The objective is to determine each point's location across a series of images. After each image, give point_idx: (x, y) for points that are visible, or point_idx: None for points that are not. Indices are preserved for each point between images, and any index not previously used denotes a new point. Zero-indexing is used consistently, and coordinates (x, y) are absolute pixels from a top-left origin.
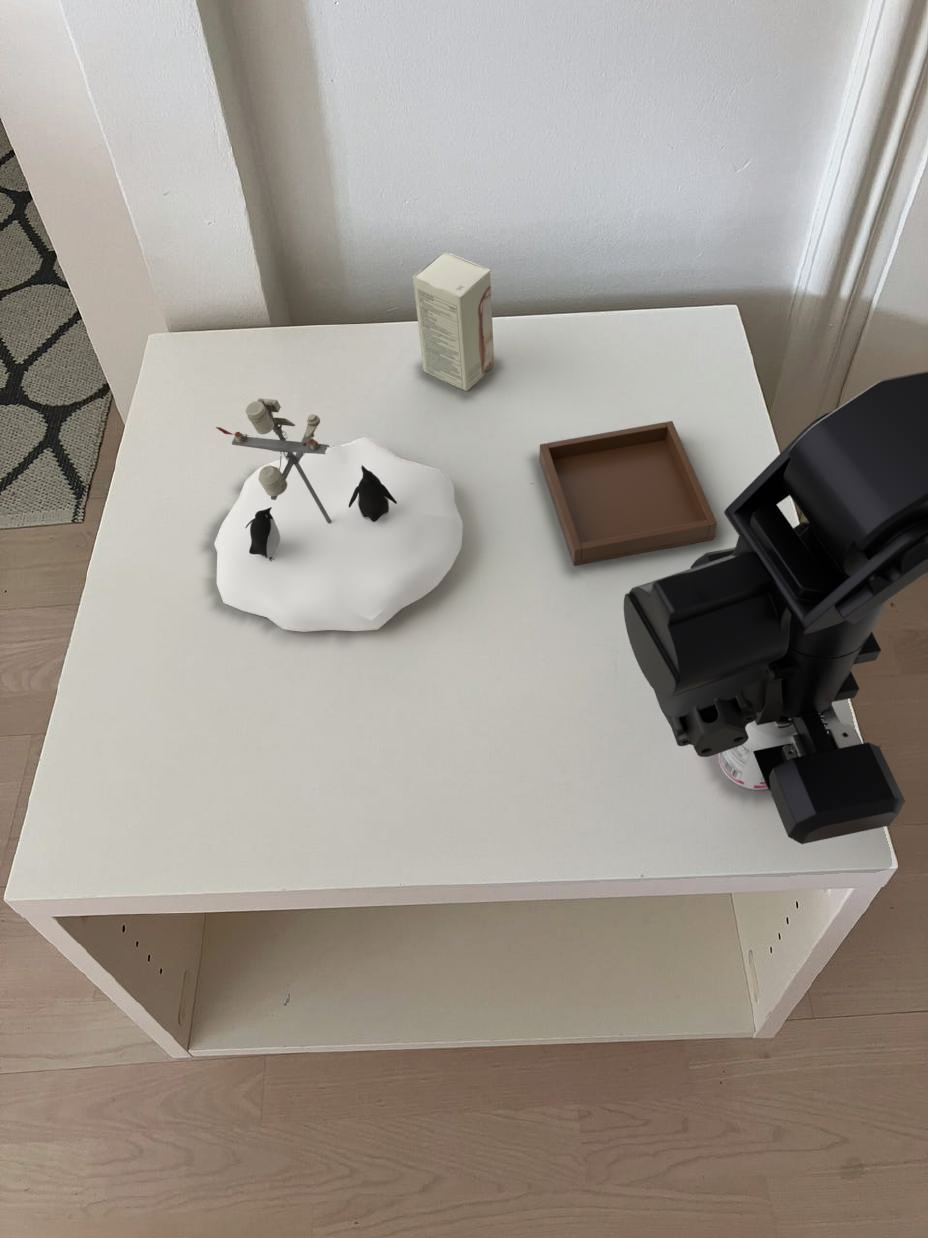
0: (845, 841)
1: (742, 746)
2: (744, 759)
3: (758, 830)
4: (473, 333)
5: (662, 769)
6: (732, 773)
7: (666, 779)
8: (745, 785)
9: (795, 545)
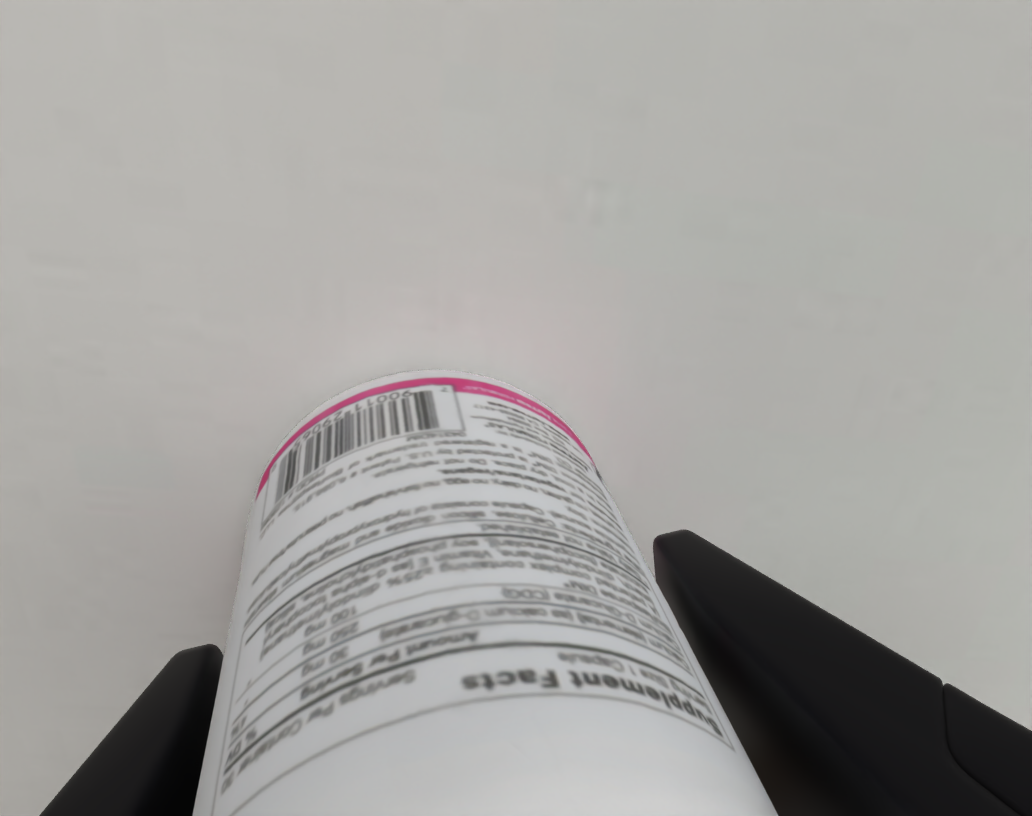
0: None
1: (273, 728)
2: (249, 641)
3: (28, 514)
4: None
5: (366, 25)
6: (297, 455)
7: (294, 43)
8: (254, 494)
9: None
